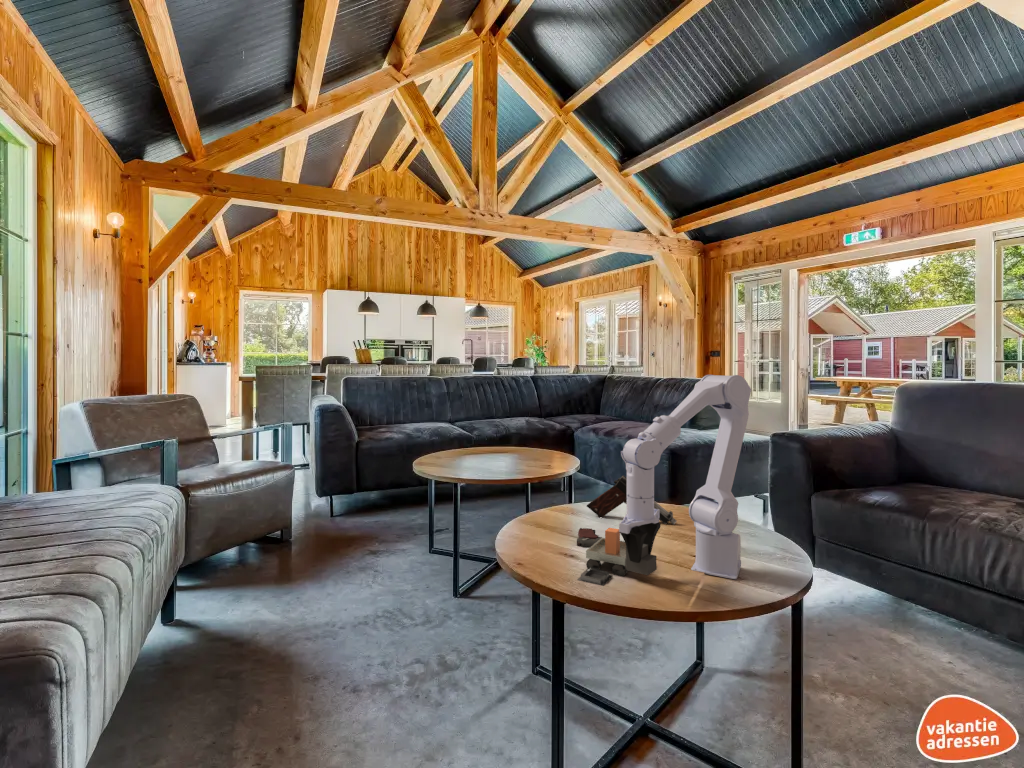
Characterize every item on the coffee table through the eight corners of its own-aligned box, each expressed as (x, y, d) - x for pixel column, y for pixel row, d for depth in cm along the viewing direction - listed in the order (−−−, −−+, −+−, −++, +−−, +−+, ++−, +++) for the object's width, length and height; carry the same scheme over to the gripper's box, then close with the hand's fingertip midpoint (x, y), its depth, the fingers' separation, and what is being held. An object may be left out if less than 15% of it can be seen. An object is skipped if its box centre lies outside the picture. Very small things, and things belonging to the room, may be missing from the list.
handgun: (647, 557, 151) (678, 519, 148) (586, 506, 158) (614, 468, 154) (649, 553, 154) (679, 516, 150) (588, 503, 161) (616, 467, 157)
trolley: (638, 563, 120) (638, 543, 120) (625, 579, 111) (624, 557, 111) (601, 556, 124) (601, 537, 124) (586, 571, 116) (586, 550, 116)
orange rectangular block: (619, 550, 118) (619, 529, 118) (616, 554, 116) (616, 532, 116) (609, 548, 119) (609, 527, 119) (605, 552, 117) (605, 530, 117)
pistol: (634, 539, 139) (637, 554, 127) (577, 535, 142) (576, 550, 130) (634, 530, 139) (637, 544, 127) (578, 526, 142) (576, 540, 130)
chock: (656, 569, 110) (655, 546, 110) (647, 575, 107) (647, 551, 107) (635, 564, 113) (634, 542, 113) (626, 570, 110) (625, 546, 110)
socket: (613, 577, 112) (613, 571, 112) (603, 588, 107) (603, 581, 107) (587, 572, 115) (587, 566, 115) (576, 582, 110) (576, 576, 110)
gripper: (641, 505, 102) (641, 573, 102) (672, 492, 112) (672, 553, 113) (610, 499, 106) (610, 564, 107) (643, 487, 117) (642, 546, 118)
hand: (640, 558), depth 110 cm, fingers closed on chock, 4 cm apart
